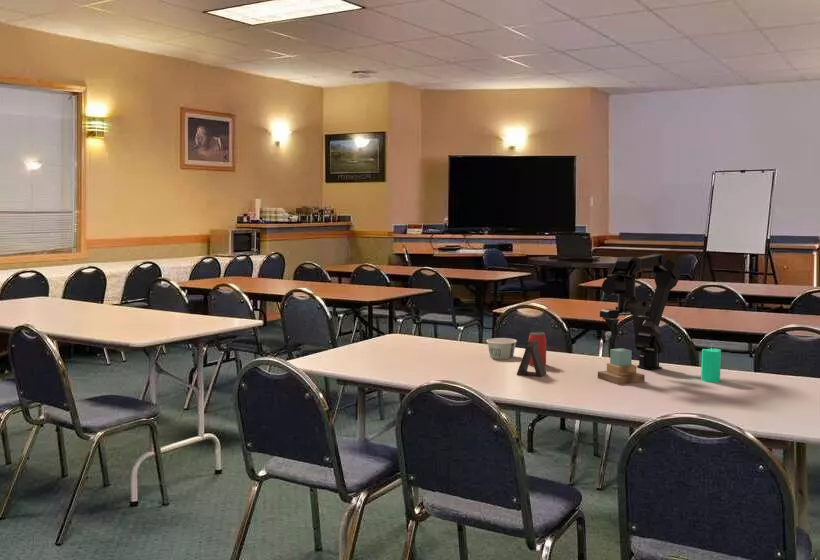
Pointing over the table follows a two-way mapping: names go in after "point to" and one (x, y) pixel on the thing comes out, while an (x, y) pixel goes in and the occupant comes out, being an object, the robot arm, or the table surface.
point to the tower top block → (621, 369)
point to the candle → (711, 365)
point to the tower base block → (621, 378)
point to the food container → (501, 348)
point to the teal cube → (620, 357)
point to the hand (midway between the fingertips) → (625, 336)
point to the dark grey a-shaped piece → (536, 359)
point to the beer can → (539, 345)
